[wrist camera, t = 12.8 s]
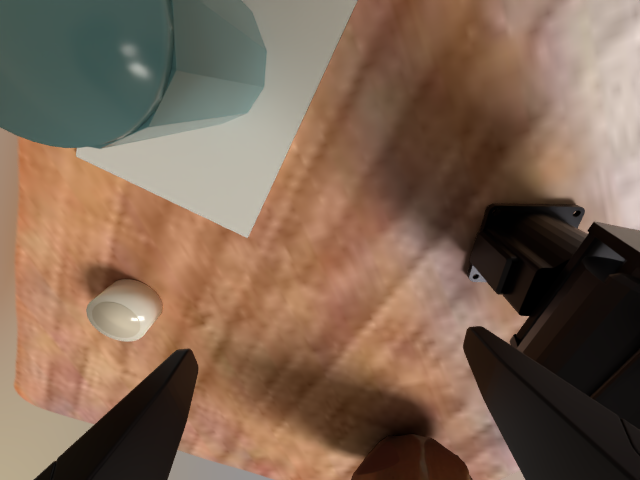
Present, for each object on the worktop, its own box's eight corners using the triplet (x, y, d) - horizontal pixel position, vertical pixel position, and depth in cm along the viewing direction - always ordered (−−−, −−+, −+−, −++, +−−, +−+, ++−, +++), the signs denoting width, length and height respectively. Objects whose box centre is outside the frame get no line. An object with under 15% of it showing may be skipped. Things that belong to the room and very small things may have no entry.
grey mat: (130, -289, 11) (124, -301, 11) (395, -83, 13) (397, -88, 13) (80, 155, 20) (75, 156, 19) (248, 235, 22) (247, 237, 22)
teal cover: (289, 48, 16) (214, -39, 6) (227, 145, 18) (103, 196, 9) (180, -59, 14) (-186, -435, 4) (128, 66, 17) (-171, 17, 7)
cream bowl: (154, 279, 24) (135, 298, 22) (168, 322, 27) (152, 343, 24) (100, 278, 25) (76, 296, 22) (118, 320, 27) (98, 340, 25)
